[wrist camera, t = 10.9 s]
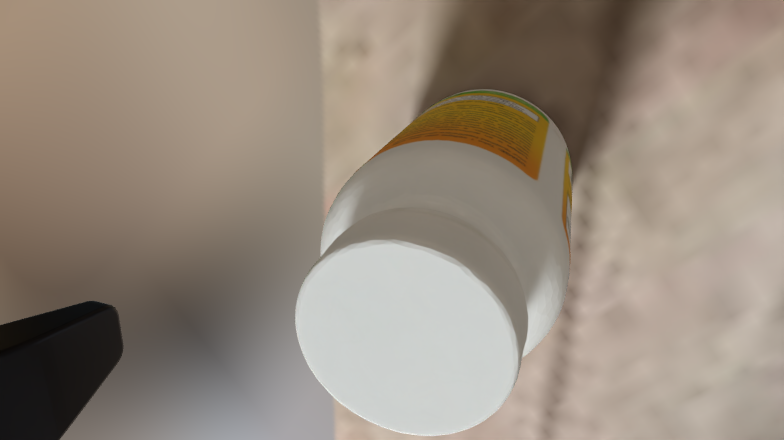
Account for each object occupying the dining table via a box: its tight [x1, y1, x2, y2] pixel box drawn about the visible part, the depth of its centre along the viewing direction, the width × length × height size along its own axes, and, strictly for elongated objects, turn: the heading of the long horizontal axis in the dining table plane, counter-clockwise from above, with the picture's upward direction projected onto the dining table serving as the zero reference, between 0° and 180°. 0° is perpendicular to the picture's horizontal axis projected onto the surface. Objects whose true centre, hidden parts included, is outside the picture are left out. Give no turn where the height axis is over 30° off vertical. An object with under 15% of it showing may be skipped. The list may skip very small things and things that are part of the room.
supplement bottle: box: [295, 89, 572, 436], centre depth 14 cm, size 5×5×10 cm
